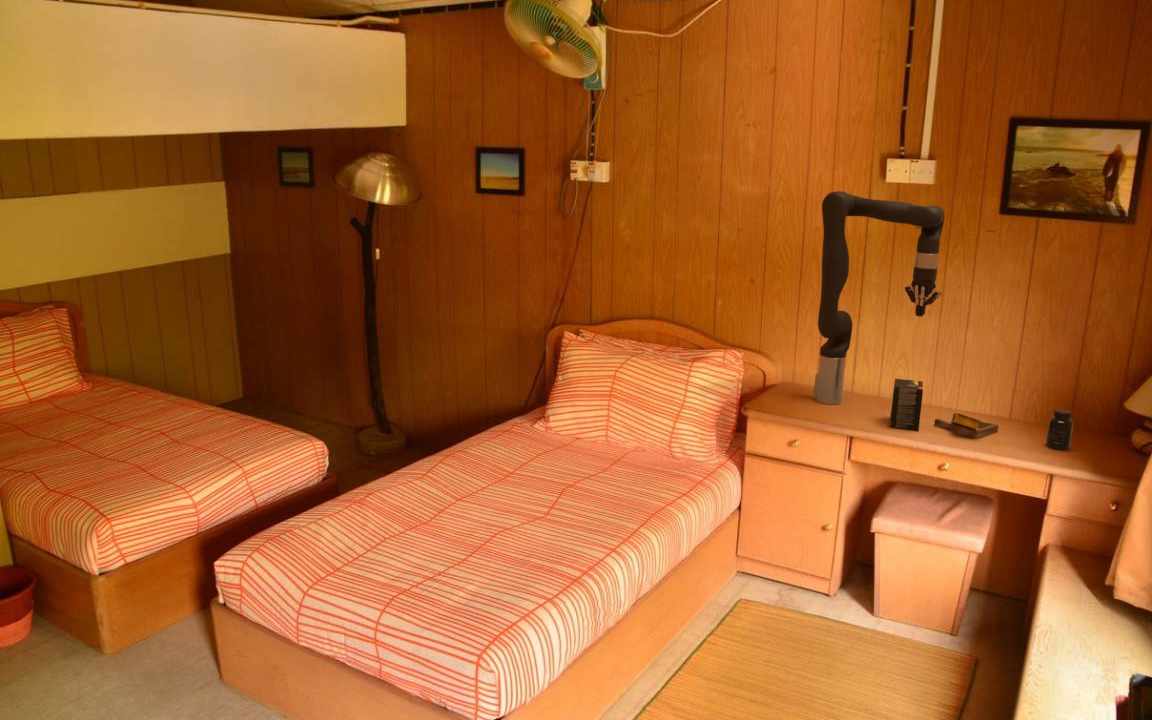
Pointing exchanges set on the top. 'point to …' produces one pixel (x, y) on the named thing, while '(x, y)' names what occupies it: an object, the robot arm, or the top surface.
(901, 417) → the tampon box
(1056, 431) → the supplement bottle
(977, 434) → the bay
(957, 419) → the crayon box
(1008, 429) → the top surface
